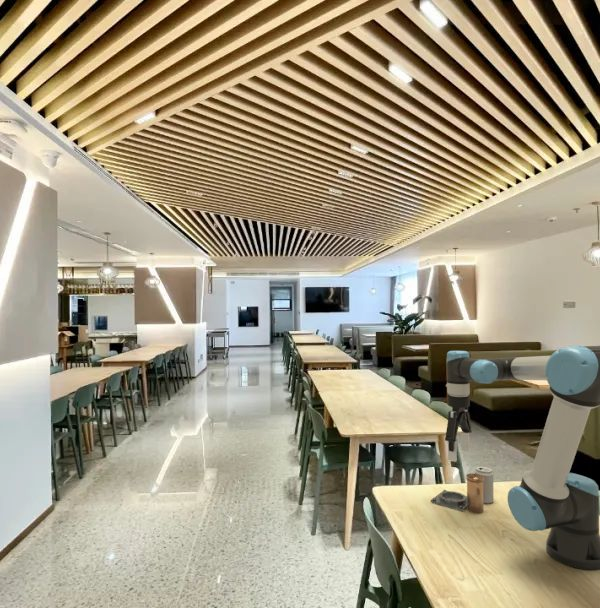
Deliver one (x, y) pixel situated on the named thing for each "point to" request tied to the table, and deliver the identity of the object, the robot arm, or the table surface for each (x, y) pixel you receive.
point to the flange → (451, 500)
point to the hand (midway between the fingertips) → (459, 455)
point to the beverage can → (486, 483)
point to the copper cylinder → (475, 493)
